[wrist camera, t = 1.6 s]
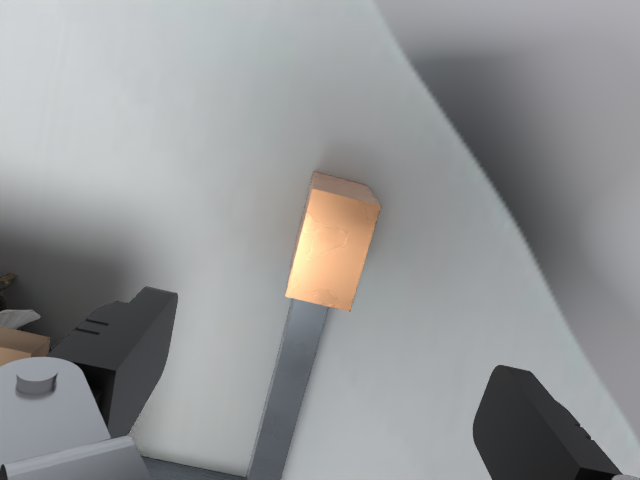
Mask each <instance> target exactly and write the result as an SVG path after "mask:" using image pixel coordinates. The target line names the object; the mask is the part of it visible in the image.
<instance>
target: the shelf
mask: <svg viewBox="0 0 640 480" xmlns="http://www.w3.org/2000/svg"><path fill="white" fill-rule="evenodd" d="M50 338H51V337H47V336H42V335H38V334H33V333H29V332H24V331H20V330H15V329H11V328H6V327H2V326H0V367H1V366H3V365H5V364H7V363H10V362H13V361H16V360H20V359H25V358H32V357H45V356H46V355H47V354H48V353H49V347H50Z"/></svg>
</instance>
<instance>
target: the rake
mask: <svg viewBox="0 0 640 480" xmlns="http://www.w3.org/2000/svg"><path fill="white" fill-rule="evenodd" d="M380 208H381V205H380V203H379V202H378V201H377V199H376V198H375V196H374V195H373V194H372V192H371V191H370V189H369V188H368V186H367V185H364V184H360V183H356V182H352V181H349V180H345V179H341V178H337V177H333V176H329V175H325V174H321V173H317V172H313V175H312V179H311V183H310V187H309V191H308V195H307V199H306V203H305V207H304V211H303V215H302V219H301V223H300V227H299V231H298V235H297V239H296V243H295V247H294V251H293V255H292V260H291V266H290V272H289V278H288V283H287V289H286V295H285V296H286V297H290V298H292V301H291V305H290V309H289V313H288V317H287V321H286V324H285V328H284V332H283V336H282V340H281V344H280V348H279V352H278V356H277V359H276V363H275V367H274V371H273V375H272V379H271V383H270V387H269V390H268V394H267V398H266V402H265V406H264V410H263V414H262V418H261V422H260V425H259V429H258V433H257V437H256V441H255V445H254V449H253V453H252V457H251V460H250V464H249V468H248V472H247V476H246V478H244V477H239V476H234V475H229V474H224V473H219V472H214V471H210V470H205V469H200V468H195V467H190V466H185V465H180V464H176V463H171V462H166V461H161V460H156V459H151V458H146V457H142V456H141V457H142V459H143V461H144V463H145V466H146V468H147V470H148V472H149V474H150V476H151V478H152V480H280V479H281V475H282V472H283V468H284V464H285V461H286V457H287V454H288V450H289V447H290V443H291V439H292V436H293V432H294V429H295V425H296V422H297V418H298V414H299V411H300V407H301V404H302V400H303V397H304V393H305V389H306V386H307V382H308V379H309V375H310V372H311V368H312V364H313V361H314V357H315V354H316V350H317V347H318V343H319V339H320V336H321V332H322V329H323V325H324V322H325V318H326V315H327V311H328V307H332V308H337V309H341V310H345V311H349V312H350V310H351V307H352V303H353V300H354V297H355V293H356V290H357V286H358V283H359V280H360V276H361V273H362V269H363V266H364V263H365V259H366V256H367V252H368V249H369V245H370V242H371V239H372V235H373V232H374V228H375V225H376V222H377V218H378V215H379V211H380Z"/></svg>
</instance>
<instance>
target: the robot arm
mask: <svg viewBox="0 0 640 480" xmlns="http://www.w3.org/2000/svg"><path fill="white" fill-rule="evenodd" d="M177 302H178V295H177V293H174V292H169V291H165V290H160V289H156V288H151V287H147V286H146V287H144V288H143V289H142V290H141V291H140V292H139V293H138V294H137V295H136V297H135V298H134V299H133V300H132V301H131V302H130V303H129V304H128V303H123V302H119V301H116V302H113V303H111V304H108V305H105V306H103V307H100V308H98V309H97V310H95V311H94V312H93V313H92V314H91V315H90V316H89V317H88V318H87V319H86V321H83V322H82V323H81V324H80V325H79V326H78V327H77V328H76V330H74V331H72V332H71V333H70V334H69V335H68V336H67V337H66V338H65V339H64V340H63V341H61V342H60V343H59V344H58V345H57V346H56V347H55V348H54V349H53V350H52V351H50V352H49V353H48V354H47V355H46V356H45V357H32V358H25V359H20V360H16V361H13V362H10V363H7V364H5V365H3V366H1V367H0V480H152V478H151V476H150V474H149V472H148V470H147V468H146V466H145V463H144V461H143V459H142V457H141V455H140V453H139V451H138V449H137V447H136V445H135V443H134V441H133V439H132V438H131V437H130V436H129V435H128V433H129V431H130V429H131V428H132V426H133V424H134V423H135V421H136V419H137V417H138V416H139V414H140V412H141V410H142V409H143V407H144V405H145V403H146V402H147V400H148V398H149V397H150V395H151V393H152V391H153V390H154V388H155V386H156V384H157V383H158V381H159V379H160V377H161V375H162V373H163V370H164V367H165V364H166V361H167V357H168V352H169V347H170V341H171V336H172V330H173V325H174V319H175V314H176V308H177ZM473 438H474V442H475V445H476V447H477V449H478V451H479V453H480V455H481V457H482V459H483V462H484V464H485V466H486V468H487V470H488V472H489V474H490V476H491V478H492V480H640V478H637V477H634V476H629V475H623V474H622V473H621V472H620V471H619V469H618V468H617V467H616V466H615V465H614V464H613V462H612V461H611V460H610V459H609V458H608V457H607V455H606V454H605V453H604V452H603V451H602V449H601V448H600V447H599V446H598V445H597V444H596V442H595V441H594V440H591V437H590V435H589V434H588V433H587V432H586V431H585V430H584V428H582V427H580V424H579V423H578V421H577V420H576V419H575V418H574V417H573V416H572V414H571V413H570V412H569V411H568V410H567V409H566V408H565V407H563V406H562V405H561V404H559V403H558V402H557V401H556V400H554V398H553V397H552V396H551V395H550V394H549V392H548V391H547V390H546V389H545V388H544V387H543V385H542V384H541V383H540V382H539V381H538V379H537V378H536V377H535V376H534V375H533V374H532V373H531V372H530V371H526V370H522V369H517V368H513V367H508V366H503V365H498V366H497V367H495V369H494V370H493V372H492V374H491V376H490V379H489V382H488V384H487V387H486V389H485V392H484V395H483V397H482V400H481V402H480V405H479V408H478V410H477V413H476V416H475V419H474V423H473Z"/></svg>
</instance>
